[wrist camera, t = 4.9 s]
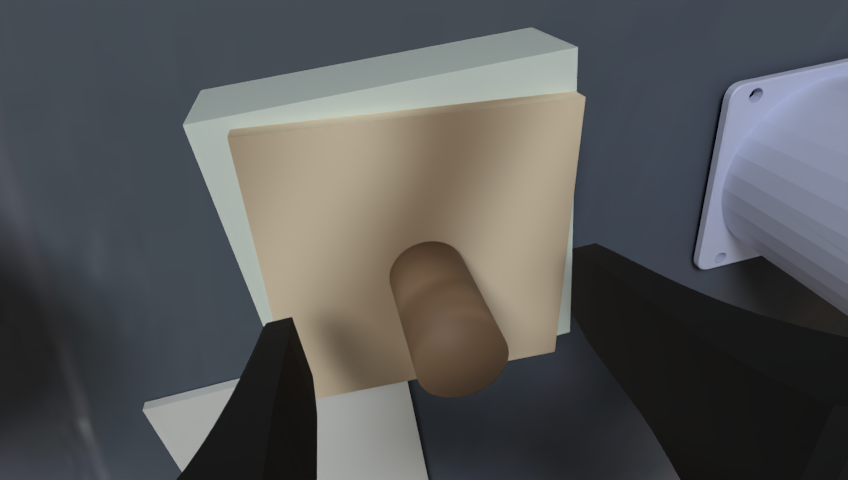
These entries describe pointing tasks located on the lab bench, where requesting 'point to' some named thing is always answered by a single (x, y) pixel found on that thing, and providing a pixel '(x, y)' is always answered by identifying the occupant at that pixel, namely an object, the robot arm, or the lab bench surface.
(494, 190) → the lid
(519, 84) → the dish
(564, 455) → the lab bench surface
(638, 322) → the robot arm
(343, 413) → the mat
